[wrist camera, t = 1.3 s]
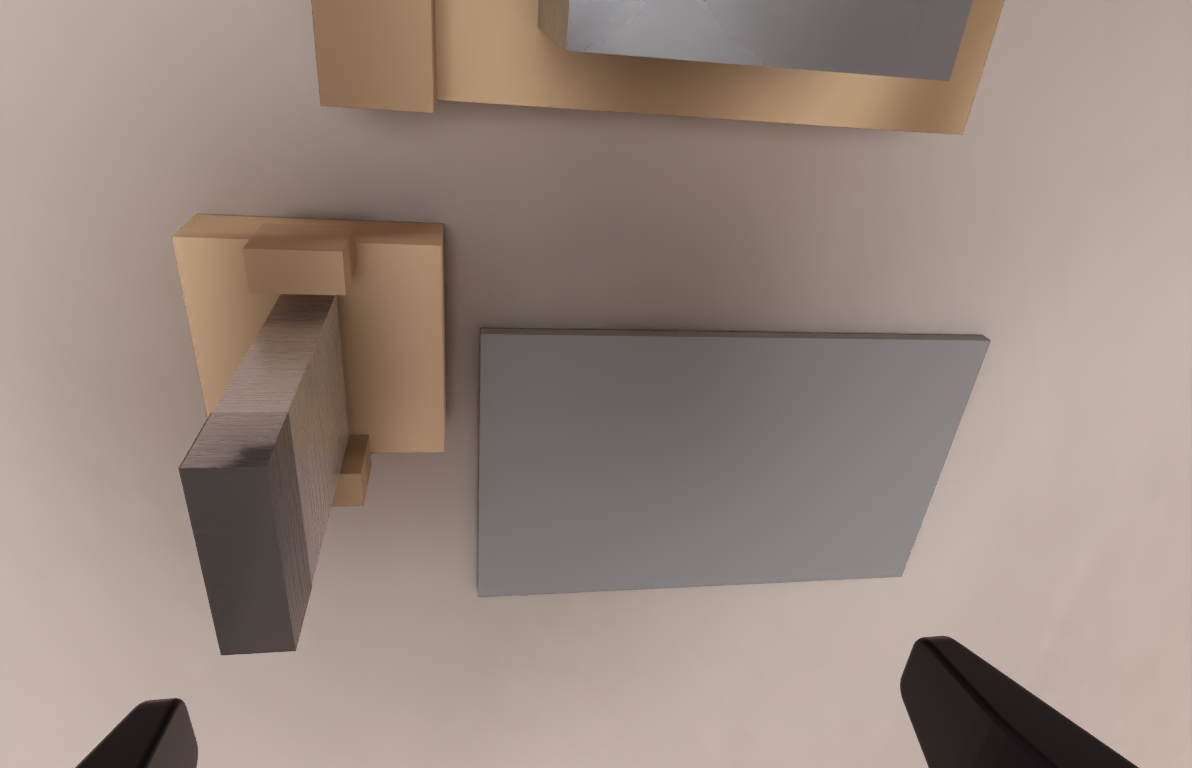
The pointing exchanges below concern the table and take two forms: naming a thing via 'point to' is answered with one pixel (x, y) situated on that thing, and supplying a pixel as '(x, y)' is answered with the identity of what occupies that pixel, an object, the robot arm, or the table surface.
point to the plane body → (608, 71)
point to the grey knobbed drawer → (770, 32)
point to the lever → (270, 476)
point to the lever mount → (365, 311)
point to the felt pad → (709, 455)
